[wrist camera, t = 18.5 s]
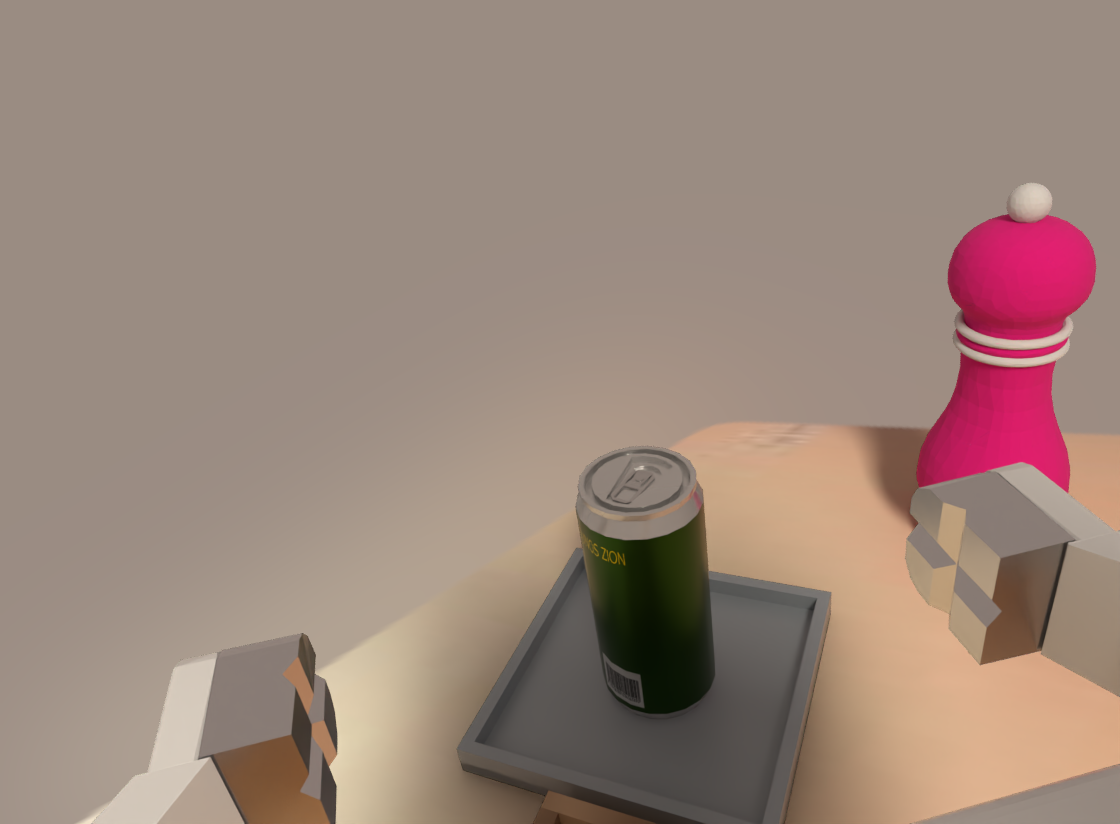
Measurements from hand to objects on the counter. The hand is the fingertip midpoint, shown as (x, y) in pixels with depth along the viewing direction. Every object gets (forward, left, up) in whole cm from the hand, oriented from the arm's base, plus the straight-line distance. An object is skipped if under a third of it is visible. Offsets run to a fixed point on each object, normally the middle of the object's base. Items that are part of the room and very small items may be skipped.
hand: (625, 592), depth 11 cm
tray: (-8, +19, -26) cm, 33 cm away
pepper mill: (+6, +34, -26) cm, 43 cm away
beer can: (-8, +19, -25) cm, 32 cm away
